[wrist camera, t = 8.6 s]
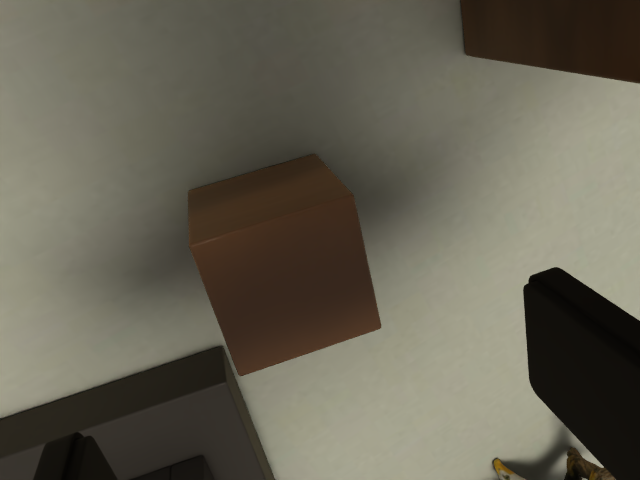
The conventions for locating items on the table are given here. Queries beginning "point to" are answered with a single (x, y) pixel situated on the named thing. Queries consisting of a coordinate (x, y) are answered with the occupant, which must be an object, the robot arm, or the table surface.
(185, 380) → the button base
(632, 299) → the table surface
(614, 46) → the stand
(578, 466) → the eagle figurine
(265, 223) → the block
